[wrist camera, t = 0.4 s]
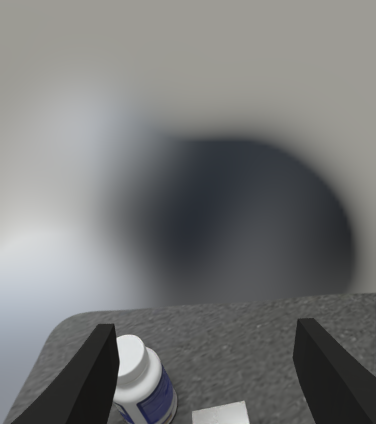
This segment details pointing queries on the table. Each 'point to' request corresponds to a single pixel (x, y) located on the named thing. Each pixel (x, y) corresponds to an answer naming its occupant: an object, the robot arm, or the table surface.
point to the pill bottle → (143, 385)
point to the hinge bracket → (222, 414)
